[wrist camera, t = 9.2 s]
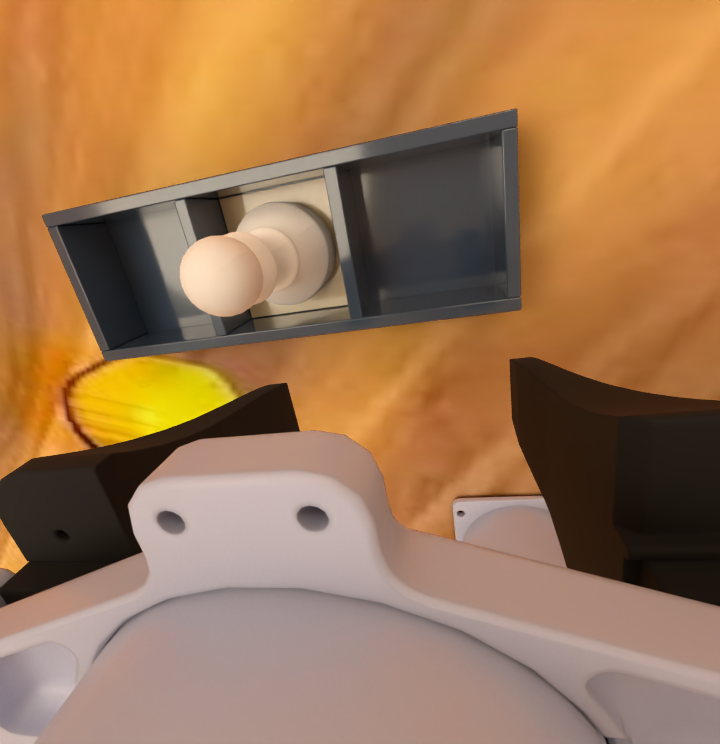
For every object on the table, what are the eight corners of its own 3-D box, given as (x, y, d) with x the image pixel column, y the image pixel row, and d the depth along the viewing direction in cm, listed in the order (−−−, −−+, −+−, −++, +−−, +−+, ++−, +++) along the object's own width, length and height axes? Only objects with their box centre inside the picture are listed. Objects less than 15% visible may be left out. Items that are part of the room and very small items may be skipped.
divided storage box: (506, 292, 21) (522, 310, 17) (147, 340, 25) (105, 361, 22) (500, 125, 18) (517, 107, 15) (98, 213, 22) (40, 214, 19)
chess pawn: (289, 316, 22) (211, 382, 14) (227, 246, 21) (104, 272, 13) (355, 259, 21) (308, 296, 13) (291, 179, 20) (193, 161, 11)
